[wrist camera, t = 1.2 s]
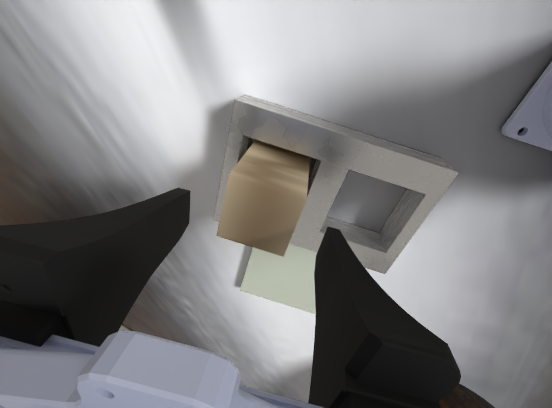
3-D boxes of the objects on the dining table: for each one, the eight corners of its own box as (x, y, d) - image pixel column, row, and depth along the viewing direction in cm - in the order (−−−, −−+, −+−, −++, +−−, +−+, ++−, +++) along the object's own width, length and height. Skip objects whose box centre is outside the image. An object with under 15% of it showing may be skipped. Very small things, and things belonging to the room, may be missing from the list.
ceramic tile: (357, 255, 22) (358, 262, 22) (323, 310, 26) (324, 316, 26) (260, 224, 22) (258, 230, 21) (241, 284, 26) (239, 290, 26)
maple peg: (310, 153, 18) (306, 199, 12) (293, 198, 20) (283, 256, 14) (258, 136, 18) (228, 174, 12) (246, 183, 20) (216, 235, 14)
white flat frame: (441, 158, 17) (459, 172, 15) (378, 252, 22) (385, 274, 20) (245, 94, 17) (234, 99, 15) (223, 203, 22) (213, 219, 19)
